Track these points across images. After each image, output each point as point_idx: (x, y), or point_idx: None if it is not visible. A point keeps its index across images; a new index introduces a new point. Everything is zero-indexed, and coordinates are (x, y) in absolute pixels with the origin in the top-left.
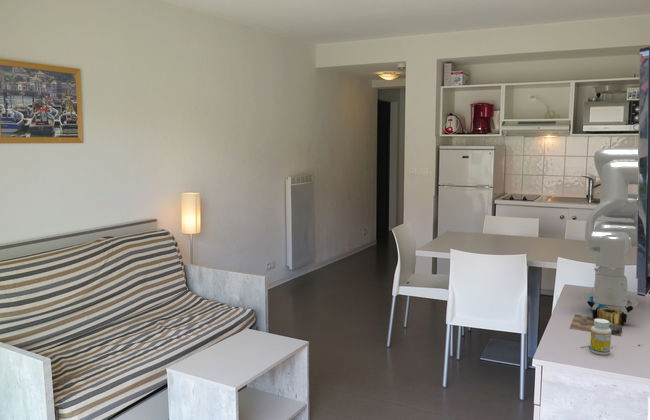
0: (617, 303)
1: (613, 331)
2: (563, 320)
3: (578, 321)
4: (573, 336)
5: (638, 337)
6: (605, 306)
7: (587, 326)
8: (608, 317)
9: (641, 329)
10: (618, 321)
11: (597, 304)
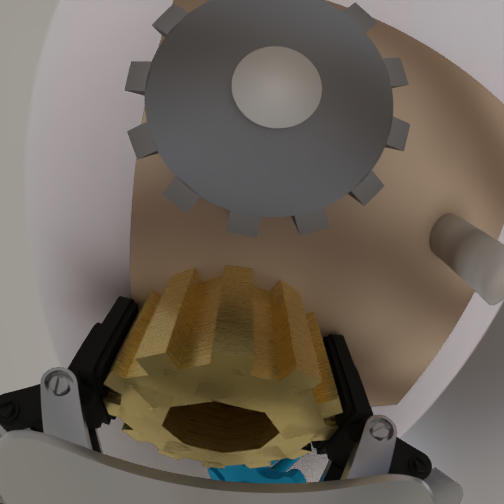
0: (92, 501)
1: None
2: (463, 331)
3: (447, 297)
4: (493, 48)
5: (53, 117)
6: (225, 480)
7: (436, 189)
8: (247, 321)
9: (49, 298)
10: (149, 315)
11: (363, 474)
